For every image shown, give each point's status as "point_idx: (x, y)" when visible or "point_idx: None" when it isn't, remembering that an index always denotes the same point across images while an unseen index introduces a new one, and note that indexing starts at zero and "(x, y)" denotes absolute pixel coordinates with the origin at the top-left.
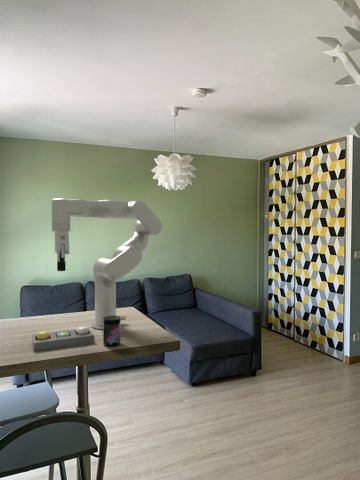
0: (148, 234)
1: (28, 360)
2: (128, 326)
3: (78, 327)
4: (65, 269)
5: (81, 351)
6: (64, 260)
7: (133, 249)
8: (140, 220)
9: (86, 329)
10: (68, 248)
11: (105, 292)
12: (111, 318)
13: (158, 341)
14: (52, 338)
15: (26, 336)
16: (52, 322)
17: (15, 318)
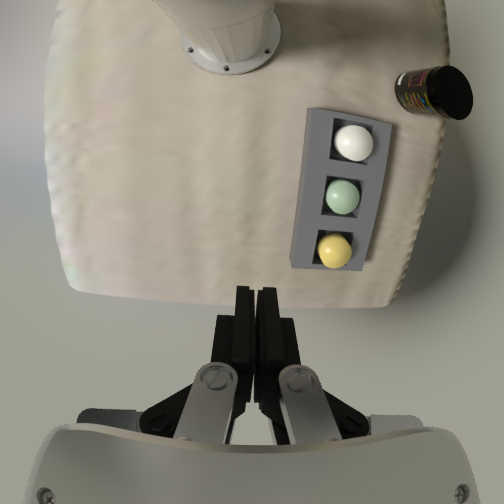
0: None
1: (395, 274)
2: None
3: (344, 151)
4: (276, 293)
5: (417, 173)
6: (316, 384)
7: None
8: None
9: (369, 135)
10: (476, 492)
11: None
12: (458, 97)
13: (433, 10)
14: (356, 229)
15: (233, 264)
16: (118, 185)
17: (65, 269)
